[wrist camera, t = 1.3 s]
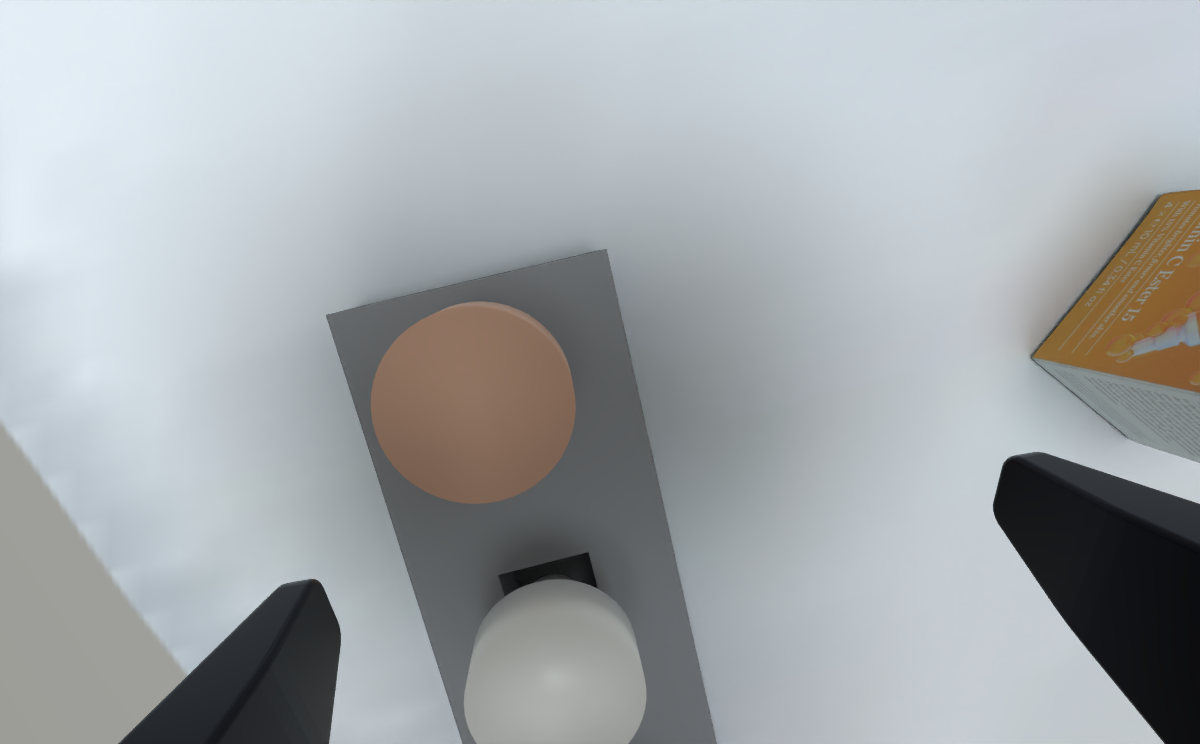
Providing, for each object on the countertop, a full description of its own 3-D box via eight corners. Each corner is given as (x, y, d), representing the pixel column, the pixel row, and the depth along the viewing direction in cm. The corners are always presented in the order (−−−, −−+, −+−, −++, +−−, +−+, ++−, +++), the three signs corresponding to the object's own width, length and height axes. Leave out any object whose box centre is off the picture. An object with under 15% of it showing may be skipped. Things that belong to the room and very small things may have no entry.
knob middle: (637, 642, 22) (663, 752, 17) (503, 677, 22) (490, 799, 17) (607, 518, 21) (625, 597, 16) (466, 554, 21) (441, 644, 16)
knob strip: (716, 772, 27) (737, 835, 24) (515, 826, 27) (511, 897, 24) (598, 250, 22) (606, 249, 19) (355, 307, 22) (325, 315, 19)
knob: (584, 424, 21) (595, 476, 16) (439, 460, 21) (404, 525, 16) (548, 278, 20) (548, 285, 15) (396, 314, 20) (344, 334, 15)
